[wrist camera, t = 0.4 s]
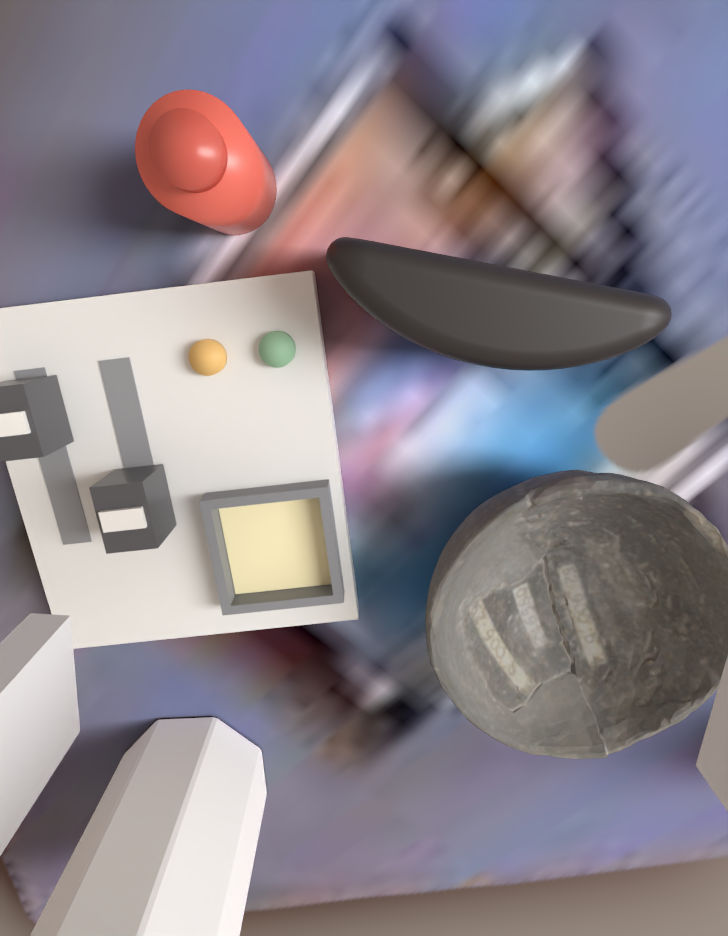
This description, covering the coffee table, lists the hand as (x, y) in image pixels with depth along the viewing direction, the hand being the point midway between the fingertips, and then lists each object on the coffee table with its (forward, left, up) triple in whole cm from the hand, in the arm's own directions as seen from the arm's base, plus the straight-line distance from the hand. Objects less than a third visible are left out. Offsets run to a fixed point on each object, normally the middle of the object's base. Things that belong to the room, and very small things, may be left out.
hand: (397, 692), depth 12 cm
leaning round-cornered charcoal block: (-7, +6, -27) cm, 28 cm away
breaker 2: (+3, -14, -24) cm, 28 cm away
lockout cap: (-14, -6, -26) cm, 31 cm away
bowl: (+12, +11, -26) cm, 31 cm away
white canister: (+26, -16, -26) cm, 40 cm away
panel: (+2, -12, -26) cm, 29 cm away
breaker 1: (-3, -19, -24) cm, 31 cm away
